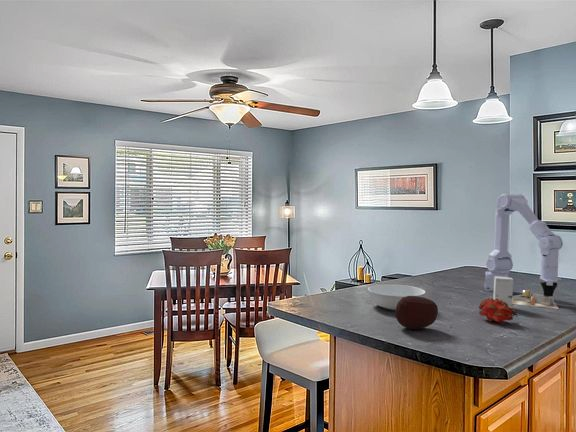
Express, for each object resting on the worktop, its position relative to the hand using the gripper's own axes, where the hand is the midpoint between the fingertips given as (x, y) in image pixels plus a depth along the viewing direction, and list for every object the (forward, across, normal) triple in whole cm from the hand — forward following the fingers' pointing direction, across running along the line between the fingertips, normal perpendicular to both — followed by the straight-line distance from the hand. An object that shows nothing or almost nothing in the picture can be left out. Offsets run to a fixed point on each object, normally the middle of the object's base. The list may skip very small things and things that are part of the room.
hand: (548, 300), depth 174 cm
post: (+1, +1, +7) cm, 8 cm away
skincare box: (+2, -18, +15) cm, 24 cm away
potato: (+2, -60, +38) cm, 71 cm away
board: (+2, 0, +6) cm, 6 cm away
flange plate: (+1, 0, +5) cm, 5 cm away
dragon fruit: (+2, -37, +16) cm, 41 cm away
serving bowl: (+2, -36, +50) cm, 62 cm away
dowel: (+1, -7, +5) cm, 9 cm away
